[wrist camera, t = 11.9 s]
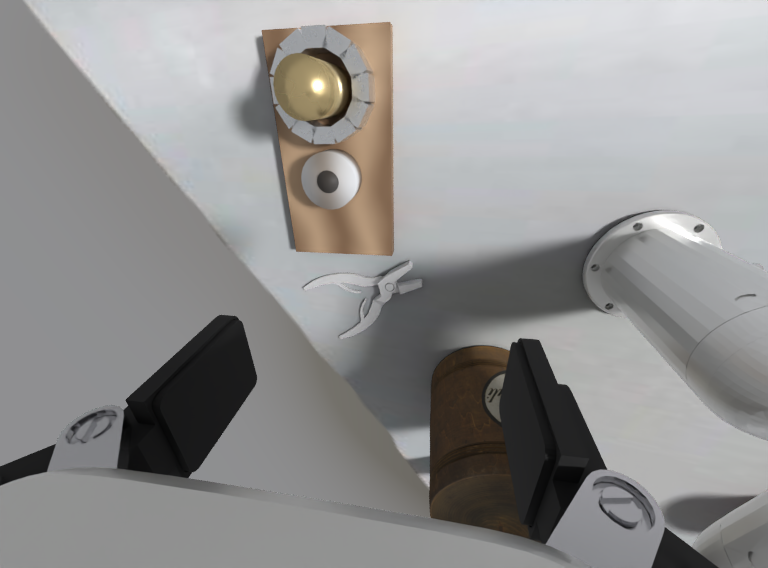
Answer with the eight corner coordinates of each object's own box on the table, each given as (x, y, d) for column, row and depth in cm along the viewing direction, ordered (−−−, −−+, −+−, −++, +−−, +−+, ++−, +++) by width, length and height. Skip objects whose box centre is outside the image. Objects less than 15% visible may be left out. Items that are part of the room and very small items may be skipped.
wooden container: (557, 397, 46) (637, 598, 27) (468, 431, 53) (483, 615, 33) (499, 326, 43) (545, 503, 23) (411, 373, 49) (391, 543, 30)
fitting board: (392, 25, 30) (384, 12, 26) (393, 250, 40) (388, 266, 36) (269, 33, 31) (243, 22, 27) (300, 247, 42) (285, 261, 38)
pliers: (299, 289, 43) (396, 241, 38) (304, 284, 45) (398, 236, 39) (339, 344, 47) (434, 306, 41) (342, 337, 48) (435, 300, 43)
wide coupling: (373, 30, 29) (366, 22, 26) (376, 141, 33) (370, 143, 30) (277, 36, 30) (262, 28, 27) (292, 141, 34) (280, 144, 32)
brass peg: (351, 62, 30) (325, 50, 23) (355, 115, 32) (333, 119, 25) (306, 66, 31) (267, 55, 24) (313, 118, 33) (280, 122, 26)
